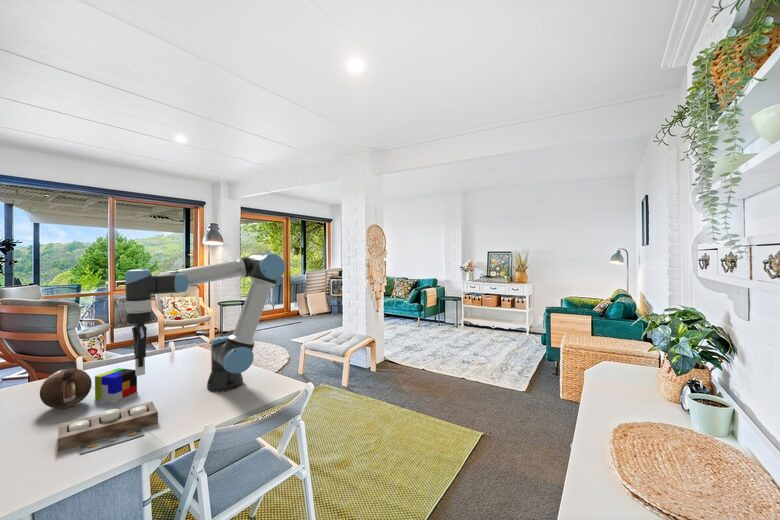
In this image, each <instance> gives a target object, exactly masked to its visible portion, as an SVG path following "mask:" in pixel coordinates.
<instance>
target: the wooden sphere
mask: <svg viewBox="0 0 780 520" xmlns="http://www.w3.org/2000/svg"><path fill="white" fill-rule="evenodd" d="M92 384H93V383H92V378H91V376H90V374H88V372H86V371H85V370H82V369H80V368H66V369H61V370H58V371H56V372H54V373H52V374H51V375H49V376H47V378H46V379H45V380H44V381H43V383H42V385H40V389H39V397H40V401H41V402H42V403H43V404H44V405H45V406H47V407H49V408H52V409H57V410H58V409H59V410H60V409H61V410H62V409H67V408H71V407H73V406H76V405H78V404H80V403H82V402H83V400H84V399H85V398H87V397H88V395H89V393H90V392H91V389H92V386H93V385H92Z"/></svg>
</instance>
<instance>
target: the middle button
mask: <svg viewBox="0 0 780 520" xmlns="http://www.w3.org/2000/svg"><path fill="white" fill-rule="evenodd" d="M119 409H120V408H119ZM119 409H118V408H113V409H108V410H104V411H102V412H101V413H100V414H101V424H102V423H106V422H109V421H113V420H117V419H119Z"/></svg>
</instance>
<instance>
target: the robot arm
mask: <svg viewBox="0 0 780 520" xmlns="http://www.w3.org/2000/svg"><path fill="white" fill-rule="evenodd" d="M285 272H286V264H285V261H284V259H283V258H282V257H281V256H280V255H278V254H276V253H271V252H267V253H263V252H262V253H261V252H260V253H256V254H253V255H252V254H251V255H248V256H244V257H239V258H238V259H237V260H233V261H232V260H231V261H226V262H221V263H213V264H208V265H207V264H206V265H202V266H201V265H200V266H194V267H188V268H182V269H177V270H170V271H160V272H158V273H156V274H154V273H153V274H152V271H151V270H150V269H128V270H127V271H126V272H125V281H124V282H125V283H124V285H125V286H124V287H125V302H126V303H123V306H124V307H125V310H126V312H127V313H126V314H125V320H126V321H125V322H126V324H129V325H133V324H134V325H133V327H131V331H132V339H133V354H134V356H133V359H134V365H135V366H134V368H135V369H134V370H135V375H136V376H137V377H139V376H143V375H146V356H147V353H146V352H147V336H148V333H147V331H148V328H147V326H146V325H145V324H146V323H149V322H151V321H152V319H153V318H152V317H153V314H152V311H151V310H152V309H153V308H152V306H153V305H152V295H163V294H179V293H185V292H187V291H188V289H189V286H194V285H200V284H205V283H212V282H217V281H222V280H226V279H233V278H237V277H240V278H249V279H250V280H251V284H250V287H249V290H248V293H247V295H246V298H245V300H244V304H243V306H242V309H241V311H240V313H239V315H238V320H237V322H236V324H235V327H234V331H233V333H232V334H231V335H225V336H224V335H222V336H217V337H214V338H212V339H211V343H210V347H211V348H210V354H211V355H210V357H211V358H210V360H211V363H210V366H211V369H210V374H209V377H208V380H207V382H206V389H207V391H209V392H215V393H216V392H217V393H219V392H220V393H221V392H222V391H223V392H229V391H233V390H236V389H238V388H240V387H242V385H243V384H244V378H243V375H242V373H244V372H246V371H247V370H248V369H249V368H250V367H251V366H252V365H253V362H254V359H255V358H254V353H253V351H254V347H255V343H256V342H255V341H254V336H255V335H256V334H255V333H256V331H257V328H258V325H259V322H260V320H261V318H262V315H263V312H264V309H265V306H266V303H267V299H268V298H269V294H270V291H271V289H272V288H273V287H275V286H276V285H277V282H278V279H280V278H281V277H283V275H284V274H285ZM239 386H240V387H239ZM237 387H238V388H237ZM235 388H236V389H235ZM232 389H233V390H232ZM228 390H229V391H228Z"/></svg>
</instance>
